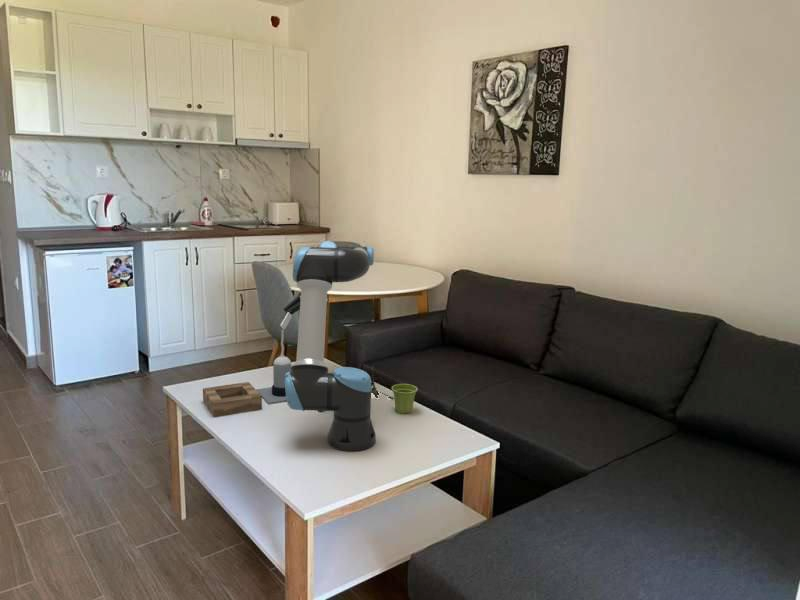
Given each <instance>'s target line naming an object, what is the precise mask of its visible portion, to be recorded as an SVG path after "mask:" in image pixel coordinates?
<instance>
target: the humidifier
mask: <svg viewBox="0 0 800 600" xmlns="http://www.w3.org/2000/svg"><path fill="white" fill-rule="evenodd" d="M284 330H285V329H281V340H280V347H281V352H280V355H279V356H278V357H276V358H274V361H273V364H272V365H273V366H272V369H273V384H272V385H271V387H272V395H274V396H278V397H284V396H286V392H285V374H286V373H287V372H291V366H292V362H291V359H290V358H289V357H287V356H285V354H284V353H285V346H284V340H285V339H284V337H285V336H284V335H285V333H284ZM278 344H279V343H277V346H276V347H277V348H279V347H278Z"/></svg>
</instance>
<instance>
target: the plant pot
mask: <svg viewBox="0 0 800 600" xmlns="http://www.w3.org/2000/svg"><path fill="white" fill-rule="evenodd" d="M391 390H392V394H393V398H394V399H393V400H394V411H395V412H396V413H397V412H398V413H399V414H404V415H405V414H409V413H412V412H413V407H414V403H415V396H416V394H417V392H418V387H417V386H415V385H413V384H409V383H397V384H393V385H392V386H391Z"/></svg>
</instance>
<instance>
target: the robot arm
mask: <svg viewBox="0 0 800 600" xmlns="http://www.w3.org/2000/svg"><path fill="white" fill-rule="evenodd" d="M374 250H375V249H374V248H373V247H372V246H371V247H370V246H348V245H347V246H346V245H341V246H339V245H336V243H335V242H333V241H332V240H325V241H323V242H321V243H320V244H319V246H307V247H306V246H304V247H300V248H299V249H298V250H297V251H296V253H295V255H294V259H293V265H292V279H293V281H294V282H296V287H297V288H299V290H300V292H299V294H298V295H297V296H296V297H295V298H294V299H293V300H292V301H291V302H289V303H288V304H287V305H286V306H285V307H284V308H283V311H284V312H285V314H284V315H283V317H282V320H281V323H280V325H279V326H280V327H281V329H282V330H286V328H287V327H288V324H289V323H290V321H291V320H292V317H293V315H294V314H295V313H296V312H298V311H299V318H298V319H299V321H298V332H297V336H298V337H297V347H296V361H295V362H294V363H293V364H291V372H287V373H286V374H285V392H286V399H287V402H286V403H287V405H288V407H289V409H291V410H295V411H302V412H305V411H322V412H323V411H326V412H329V411H331V412H333V418H332V422H331V425H330V427H329V430H328V433H327V444H328V445H329V446H330V447H331V448H333V449H335V450H339V451H343V452H344V451H346V452H358V451H364V450H367V449H369V448H371V447H372V446H374V445H375V444H376V435H377V434H376V431H375V428H374V425H373V422H372V419H371V418H372V417H371V412H372V411H371V410H372V409H371V408H372V407H371V406H372V405H371V403H372V402H371V390H372V388H373V387H372V388H371V379H372V377H371V376H370V375H369V373H367V371H365V370H363V369H360V368H357V367H351V366H350V367H349V366H341V367H340V366H339V367H337V368H335V369H334V371H332V372H330V373H329V367H328V365H326V363H325V361H324V360H325V344H326V343H325V342H326V338H325V337H326V326H327V325H326V324H327V323H326V322H327V318H328V304H329V301H330V300H329V299H328V292H329V291H330V290H332V288H333V283H348V282H349V283H350V282H352V281H356V280H358V279H360V278H362V277H363V276H365V275H366V274H367V273H368V271H369V269H370V266H373V265H374V263H375V262H374V261H375V260H374V259H375V257H374V255H375V253H374V252H375V251H374Z"/></svg>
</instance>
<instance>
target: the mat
mask: <svg viewBox="0 0 800 600" xmlns="http://www.w3.org/2000/svg"><path fill="white" fill-rule="evenodd" d="M255 389H256V390H257V391H258V393H259V394H260V395H261V396H262V399H263V400H264V401H265V403H267V404H268V405H275V404H279V403H287V399H286V396H284V397H278V396H274V395H272V386H271V387H264V388H259V389H257V388H255Z"/></svg>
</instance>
